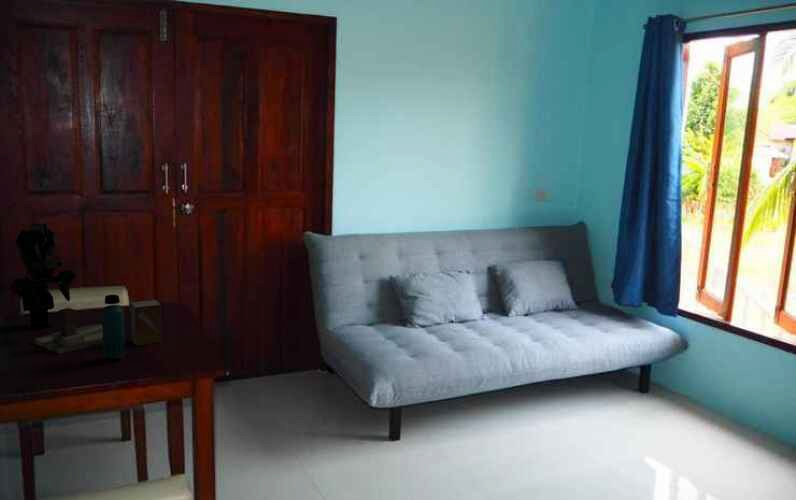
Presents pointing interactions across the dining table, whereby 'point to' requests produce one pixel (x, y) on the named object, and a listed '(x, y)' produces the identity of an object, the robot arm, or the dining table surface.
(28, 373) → the dining table surface
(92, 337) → the board
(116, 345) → the beverage bottle
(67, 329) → the block
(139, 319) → the small box
